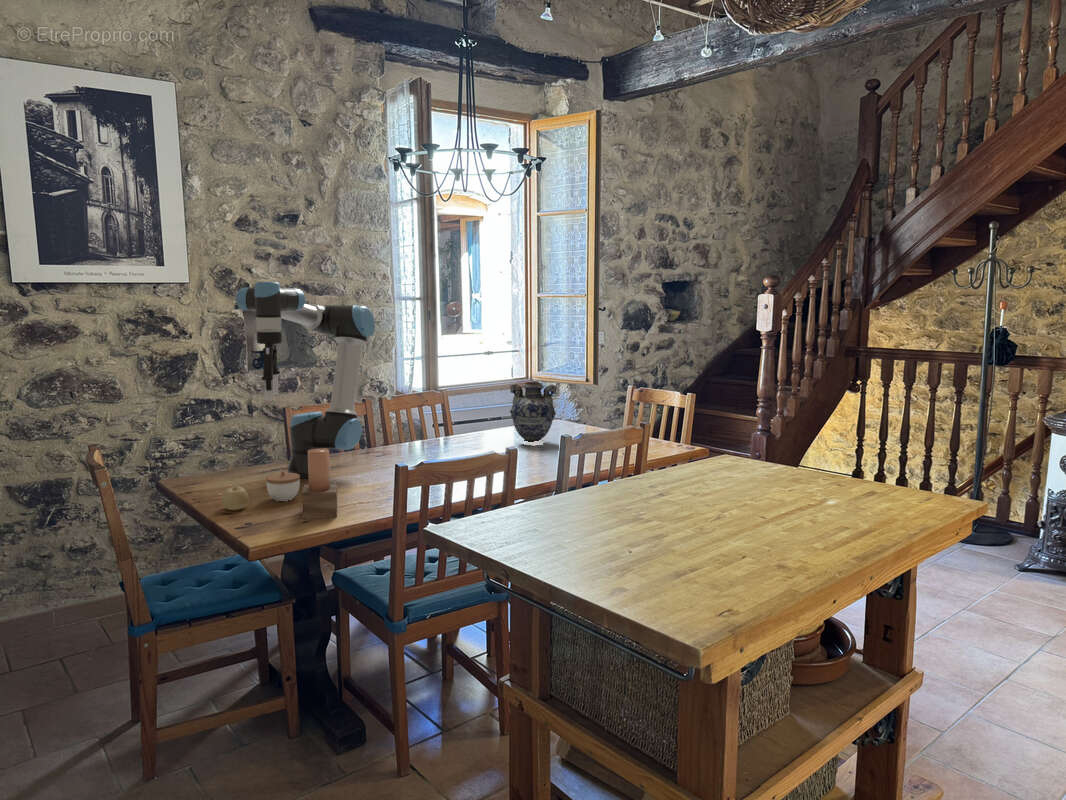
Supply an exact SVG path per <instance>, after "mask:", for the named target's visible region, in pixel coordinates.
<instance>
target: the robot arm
mask: <svg viewBox="0 0 1066 800" xmlns="http://www.w3.org/2000/svg"><path fill="white" fill-rule="evenodd" d="M280 285H281V284H280V283H279V282H278V281H257V282H255V284H254V287H250V286H249V287H241V288H240V289H239V290H237V292H236V295H235V303H236V305H237V307H238V308H239V309H240V310H241V311H242V310H243V311H247V312H250V311H253V312H255V319H254V321H253V323H254V324H256V330H257V331H256V343H257V344H258V345H264V347H263V348H262V356H263V357H262V359H263V374H262V376H261V381H263V383H264V384H263V385H264V386H263V388H264V389H263V390H264V401H265V402H270V401H272V402H273V401H275V396H277V395H279V376H278V375H281V373H280V372H281V371H280V370H279V367H278V366H279V365H278V349H277V344H281V343H282V342H283V333H282V328H283V327H282V319H283V320H286V321H290V322H293V323H296V324H300V325H302V327H303V328H304V329H306V330H310V331H313V332H317V333H318V334H323V335H327V336H332V337H334V341H336V343H337V352H336V360H335V367H334V375H333V383H332V389H331V399H330V405H329V407H328V409H326V410H325V412H324V414H323V412H322V411H309V412H303V413H298V414H295V415H292V416H291V417H290V421H289V422H290V424H289V425H290V426H289V430H290V447H291V453H290V454H291V455H290V459H289V462H288V465H287V467H286V468H287V469H286V470H287V471H286V473H296V474H299V475H300V479H309V476H308V450H311V449H318V448H324V449H329V450H330V449H331V450H332V449H333V450H339V451H343V450H346V451H348V450H351V449H354V448H355V447H356V446H357V445H358V444H359V442H360V440H361V438H362V434H363V426H362V422H361V421H360V420H359V419H358V413H357V412H356V411H355V404H356V403H355V402H356V396H357V388H358V387H357V386H358V380H359V379H358V378H359V372H360V362H361V355H362V349H363V347H364V346H365V345H366V344H367V342H368V341H367V340H368V338H371V337H372V336H373V334H375V329H376V322H375V317H374V315H373V313H372V311H371V310H370V309H369V308H368V307H367V306H365V305H357V304H355V305H353V304H351V305H350V304H349V305H341V304H339V305H338V304H336V305H335V304H331V305H329V304H325V305H324V304H323V305H322V304H316V303H308V304H307V303H306V296H305V293H304V292H303V290H301V289H299V288H295V287H281V286H280Z"/></svg>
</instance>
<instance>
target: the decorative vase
mask: <svg viewBox="0 0 1066 800" xmlns="http://www.w3.org/2000/svg"><path fill="white" fill-rule="evenodd" d="M523 388H524V389H523ZM557 388H558V387H557V385H555V384H549V385H547V386H545V385H543V383H542V382H534V381H533V382H532V381H531V382H530V381H529V382H524V384H523V385H522V387H521V385H519V384H518V383H513V384H511V385H510V387H509V389H510V393H511V394H514V396H513V397H512V405H511V409H510V411H509V413H510V414H511V415H510V416H511V419H512V421H513V427H514V428H515V431H516V432H517V434H518V436H520V437H521V438H522V439H523V440H524V441H528V442H534V441H539V440H542V439H543V438H544V437H546V436H547V434H548V433H549V432H550V429H551V427H552V425H553V421H554V419H555V415H556V410H555V406H554V399H553V395H556V394H557V390H558V389H557ZM542 389H543V395H542ZM523 390H525V392H524V391H523Z"/></svg>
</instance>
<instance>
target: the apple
mask: <svg viewBox="0 0 1066 800" xmlns="http://www.w3.org/2000/svg"><path fill="white" fill-rule="evenodd" d="M221 499H222V500H221V501H222V505H223V507H224V508H225V509H226V510H229V511H239V510H242V509H244V508H246V506H247V505H248V503H249V499H250V498H249V493H248V491H247V490H246V489H245V488H244V487H242V486H240V485H234V486H230V487H228V488H226V489H225V490H224V491H223V493H222V497H221Z"/></svg>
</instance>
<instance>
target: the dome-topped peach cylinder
mask: <svg viewBox="0 0 1066 800" xmlns="http://www.w3.org/2000/svg"><path fill="white" fill-rule="evenodd" d="M330 464H331V462H330V449H328V448H318V449H311V450H308V476H309V478H308V485H309V490H311V491H325V490H328V489H330V484H331V470H330V469H331V465H330Z"/></svg>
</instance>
